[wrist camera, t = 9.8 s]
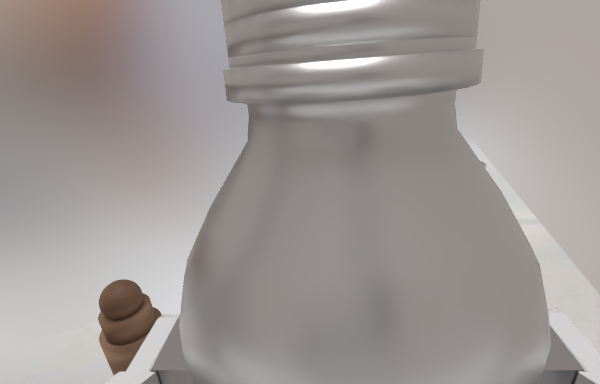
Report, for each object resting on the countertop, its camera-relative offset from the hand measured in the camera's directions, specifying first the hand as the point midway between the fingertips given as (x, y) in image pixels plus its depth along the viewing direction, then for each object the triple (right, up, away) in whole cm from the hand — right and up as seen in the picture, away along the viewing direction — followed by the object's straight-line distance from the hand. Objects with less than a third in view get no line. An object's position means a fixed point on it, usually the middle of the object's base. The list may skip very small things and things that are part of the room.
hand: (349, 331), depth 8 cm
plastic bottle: (+1, -12, +4) cm, 13 cm away
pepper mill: (-15, -19, +26) cm, 36 cm away
